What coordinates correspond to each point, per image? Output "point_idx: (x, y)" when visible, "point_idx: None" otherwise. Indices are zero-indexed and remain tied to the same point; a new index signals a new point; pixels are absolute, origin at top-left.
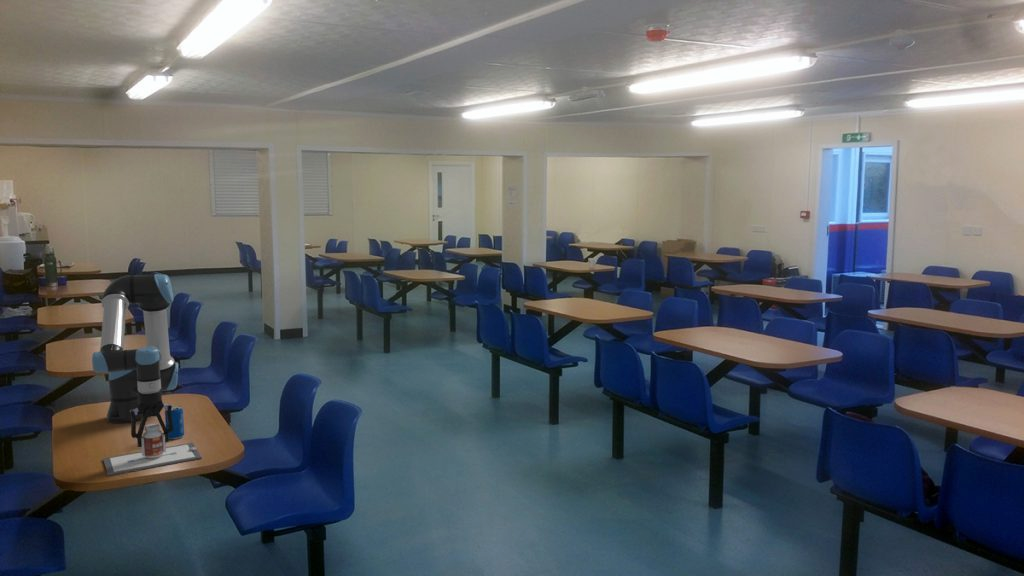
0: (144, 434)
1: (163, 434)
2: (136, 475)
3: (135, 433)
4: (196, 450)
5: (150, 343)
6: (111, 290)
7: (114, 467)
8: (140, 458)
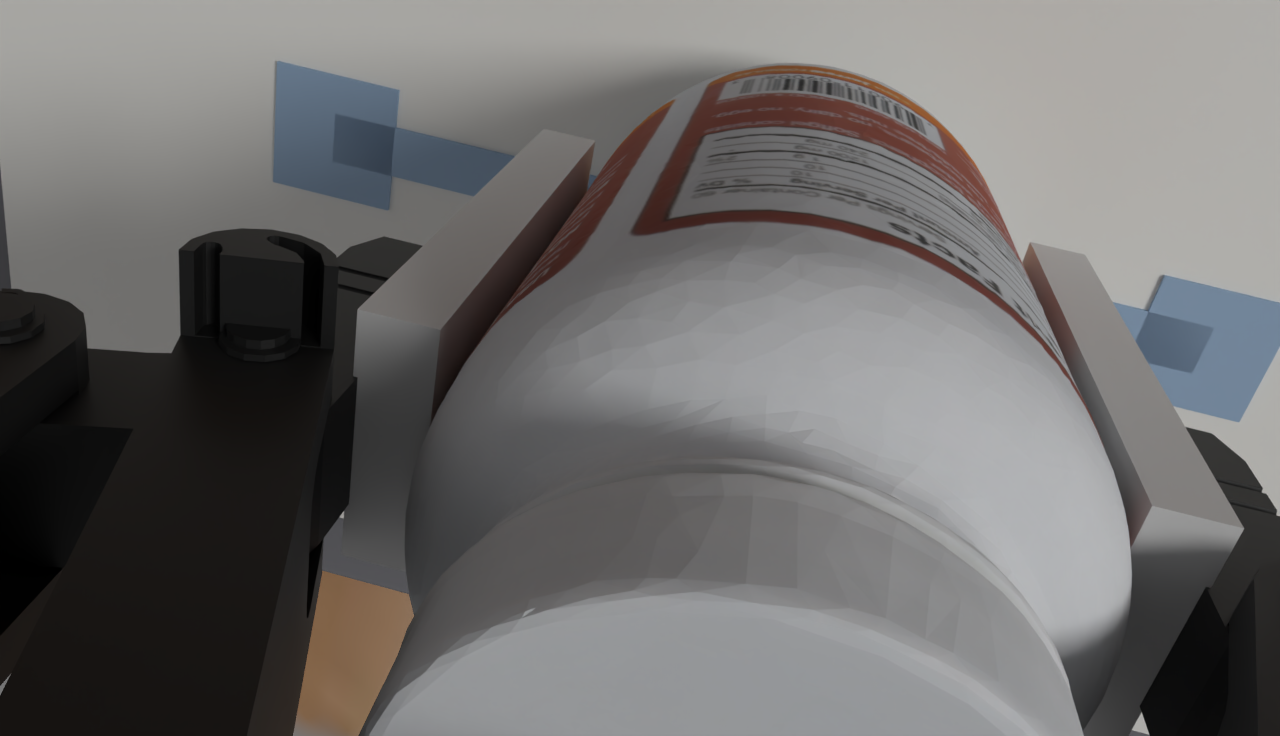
0: (413, 607)
1: (1102, 706)
2: (322, 701)
3: (14, 653)
4: None
5: None
6: None
7: (32, 245)
8: (536, 112)
